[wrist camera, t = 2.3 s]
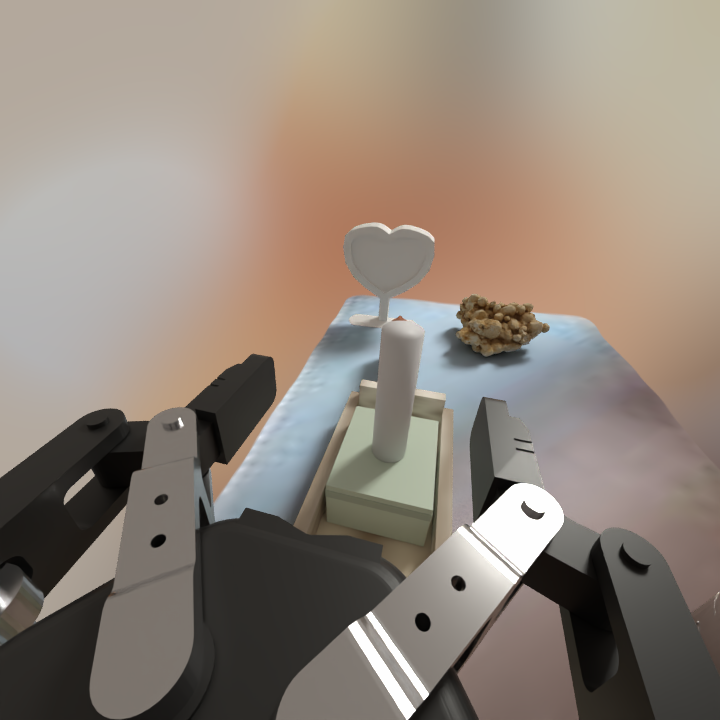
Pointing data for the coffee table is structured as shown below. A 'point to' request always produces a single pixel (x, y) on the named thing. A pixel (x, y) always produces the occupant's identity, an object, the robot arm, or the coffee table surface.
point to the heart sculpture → (387, 263)
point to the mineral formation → (497, 325)
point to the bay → (440, 527)
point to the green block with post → (388, 450)
